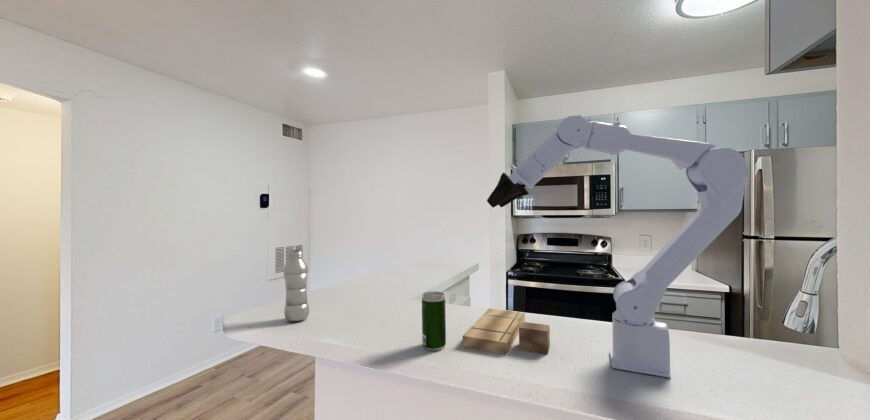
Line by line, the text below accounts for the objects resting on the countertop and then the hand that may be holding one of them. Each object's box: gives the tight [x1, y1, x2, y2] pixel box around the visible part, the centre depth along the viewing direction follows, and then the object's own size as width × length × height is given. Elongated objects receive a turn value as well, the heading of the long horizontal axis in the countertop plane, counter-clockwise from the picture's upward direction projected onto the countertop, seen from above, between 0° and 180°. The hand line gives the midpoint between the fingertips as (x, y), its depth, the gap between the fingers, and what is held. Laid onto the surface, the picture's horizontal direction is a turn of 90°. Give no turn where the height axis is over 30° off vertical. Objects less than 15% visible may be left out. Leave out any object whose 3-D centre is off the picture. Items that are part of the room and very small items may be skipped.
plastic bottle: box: [282, 249, 310, 322], centre depth 95 cm, size 6×7×20 cm
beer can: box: [421, 291, 447, 352], centre depth 75 cm, size 5×5×12 cm
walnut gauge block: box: [518, 321, 551, 355], centre depth 74 cm, size 6×4×5 cm, turn 65°
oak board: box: [462, 308, 526, 355], centre depth 83 cm, size 10×22×3 cm, turn 155°
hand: (494, 204), depth 77 cm, fingers open, 7 cm apart
